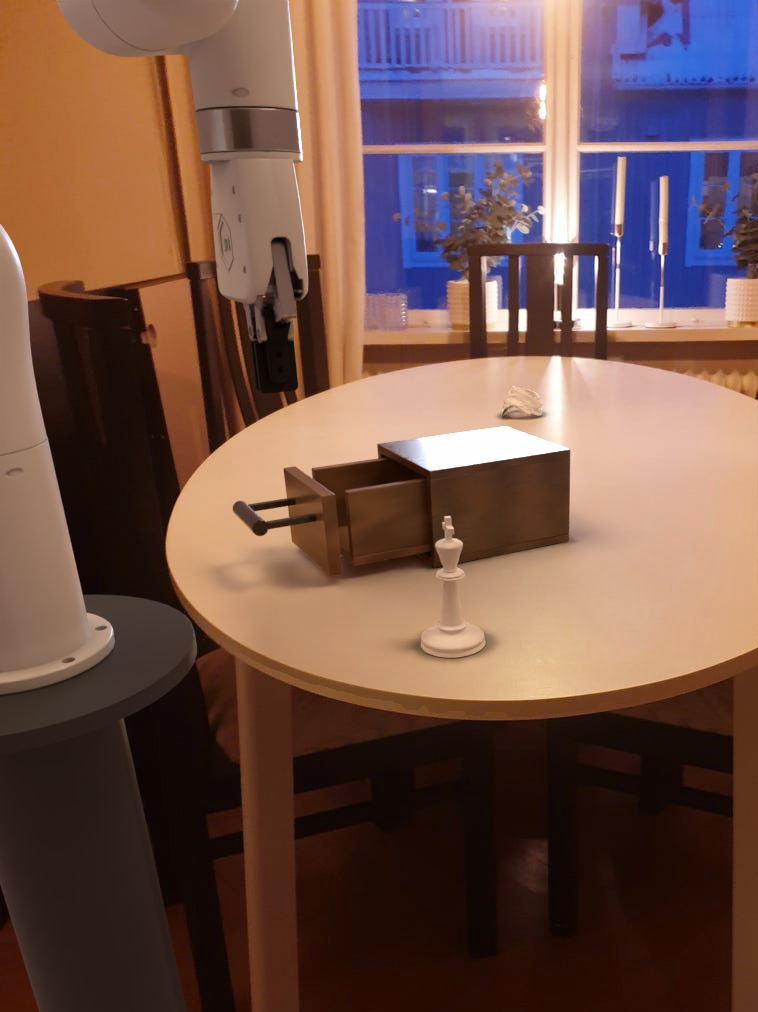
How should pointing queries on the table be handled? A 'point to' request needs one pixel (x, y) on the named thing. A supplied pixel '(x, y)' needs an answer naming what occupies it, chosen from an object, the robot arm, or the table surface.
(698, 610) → the table surface
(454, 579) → the chess piece
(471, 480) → the cabinet
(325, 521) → the drawer
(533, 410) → the beige lumpy piece
